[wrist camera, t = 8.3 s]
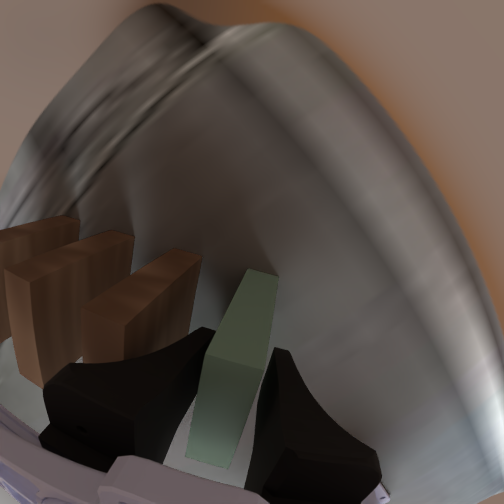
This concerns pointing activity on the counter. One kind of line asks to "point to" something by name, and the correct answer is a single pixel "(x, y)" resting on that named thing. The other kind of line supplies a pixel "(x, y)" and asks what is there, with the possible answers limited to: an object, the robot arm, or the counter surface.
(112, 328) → the walnut domino
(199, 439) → the green domino
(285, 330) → the counter surface
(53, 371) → the walnut domino
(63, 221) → the walnut domino
